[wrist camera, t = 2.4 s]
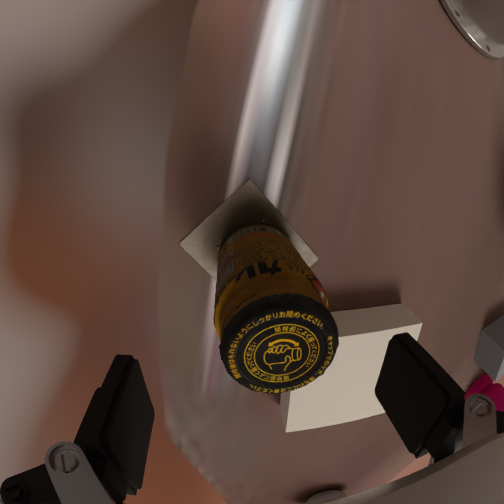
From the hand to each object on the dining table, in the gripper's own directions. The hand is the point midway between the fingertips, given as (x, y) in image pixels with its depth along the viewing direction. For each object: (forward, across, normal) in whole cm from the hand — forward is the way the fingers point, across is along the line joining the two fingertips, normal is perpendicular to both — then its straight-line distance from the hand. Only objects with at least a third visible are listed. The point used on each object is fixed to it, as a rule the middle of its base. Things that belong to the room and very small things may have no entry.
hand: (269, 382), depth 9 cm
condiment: (+14, -1, -1) cm, 14 cm away
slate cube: (+14, -37, +14) cm, 42 cm away
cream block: (+14, -10, +11) cm, 20 cm away
